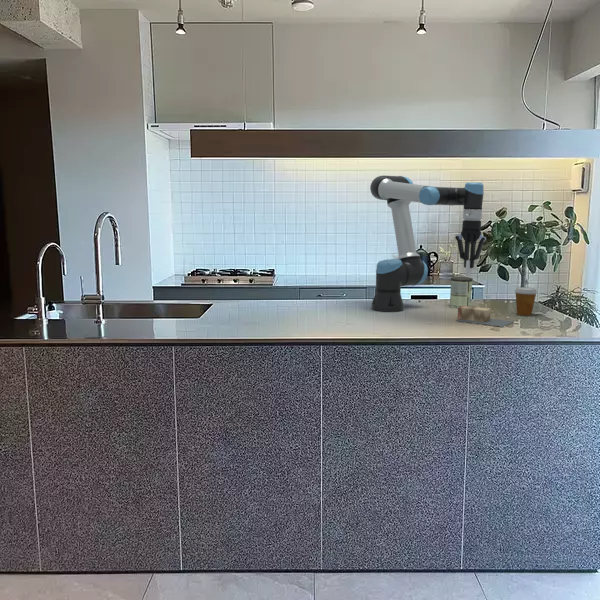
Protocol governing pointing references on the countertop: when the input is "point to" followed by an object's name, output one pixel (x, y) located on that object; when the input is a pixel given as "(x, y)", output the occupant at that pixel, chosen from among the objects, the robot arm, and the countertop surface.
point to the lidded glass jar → (461, 291)
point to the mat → (489, 322)
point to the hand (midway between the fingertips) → (468, 275)
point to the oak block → (474, 313)
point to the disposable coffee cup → (525, 300)
